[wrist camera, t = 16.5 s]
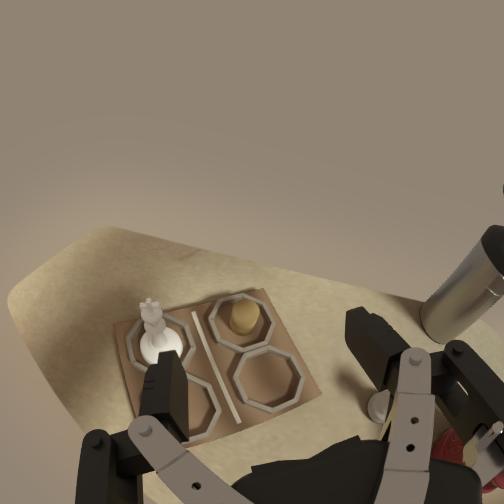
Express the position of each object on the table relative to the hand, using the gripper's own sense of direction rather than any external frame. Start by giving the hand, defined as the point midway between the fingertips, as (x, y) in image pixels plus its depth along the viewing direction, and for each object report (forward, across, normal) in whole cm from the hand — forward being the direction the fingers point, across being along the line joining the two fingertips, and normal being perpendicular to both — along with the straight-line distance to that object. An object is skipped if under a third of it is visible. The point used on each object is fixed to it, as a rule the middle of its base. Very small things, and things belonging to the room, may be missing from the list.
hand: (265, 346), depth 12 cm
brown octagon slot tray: (+14, +5, +14) cm, 20 cm away
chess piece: (+15, +10, +10) cm, 21 cm away
